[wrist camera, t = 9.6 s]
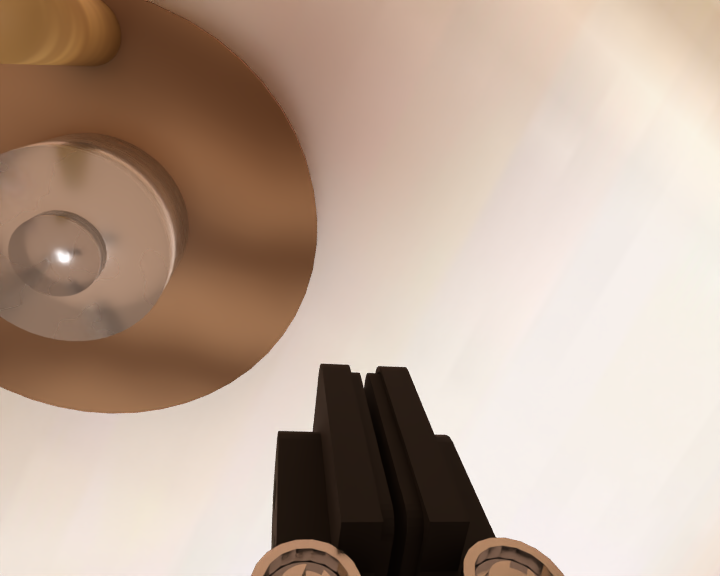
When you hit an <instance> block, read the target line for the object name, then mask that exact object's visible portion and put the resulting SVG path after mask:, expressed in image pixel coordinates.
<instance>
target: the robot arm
mask: <svg viewBox="0 0 720 576" xmlns="http://www.w3.org/2000/svg"><path fill="white" fill-rule="evenodd" d="M251 576H564V575H563V573H562V572H561V571H560V570H559V569H558V567H557V566H556V565H555V564H554V563H553V562H552V561H551V560H550V559H549V558H548V557H546V556H545V555H544V554H542V553H541V552H540V551H538V550H537V549H535V548H533V547H531V546H529V545H527V544H525V543H523V542H521V541H517V540H512V539H508V538H496V537H495V535H494V533H493V530H492V528H491V526H490V524H489V522H488V519H487V517H486V515H485V513H484V510H483V508H482V506H481V504H480V502H479V499H478V497H477V495H476V493H475V491H474V488H473V486H472V484H471V482H470V479H469V477H468V475H467V473H466V471H465V468H464V466H463V464H462V462H461V460H460V457H459V455H458V453H457V451H456V448H455V446H454V444H453V442H452V440H451V439H450V437H449V436H447V435H434V433H433V430H432V428H431V425H430V423H429V420H428V418H427V415H426V413H425V411H424V408H423V406H422V403H421V401H420V398H419V396H418V394H417V391H416V389H415V386H414V384H413V381H412V379H411V376H410V374H409V372H408V369H407V368H406V367H386V366H378V367H377V369H376V373H367V375H366V379H365V385H364V388H363V384H362V379H361V375H360V373H353V372H351V370H350V366H349V365H339V364H321V365H320V369H319V377H318V386H317V396H316V405H315V415H314V424H313V432H294V431H278V436H277V448H276V461H275V474H274V491H273V513H272V546H271V550H270V551H268V552H267V553H266V554H265V555H264V556H263V557H262V558H261V559H260V560H259V562H258V563H257V564H256V566H255V568H254V570H253V573H252V575H251Z"/></svg>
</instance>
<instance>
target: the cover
mask: <svg viewBox="0 0 720 576" xmlns="http://www.w3.org/2000/svg"><path fill="white" fill-rule="evenodd" d="M188 230H189V225H188V215H187V210H186V205H185V203H184V200H183V197H182V194H181V192H180V190H179V188H178V186H177V185H176V183H175V182H174V180H173V179H172V177H171V176H170V174H169V173H168V172H167V171H166V170H165V168H164V167H163V166H162V165H161V164H160V163H159V162H158V161H157V160H155V159H154V158H153V157H152V156H151V155H149V154H148V153H146V152H145V151H144V150H142V149H140V148H139V147H137V146H135V145H133V144H131V143H129V142H127V141H124V140H122V139H119V138H116V137H112V136H109V135H104V134H97V133H75V134H68V135H64V136H60V137H56V138H53V139H49V140H46V141H42V142H38V143H35V144H31V145H28V146H24V147H21V148H17V149H14V150H10V151H8V152H5V153H3V154H0V316H1V317H2V318H3V319H5V320H6V321H8V322H10V323H12V324H14V325H15V326H17V327H19V328H21V329H24V330H26V331H28V332H31V333H33V334H37V335H40V336H43V337H47V338H52V339H57V340H66V341H88V340H96V339H101V338H105V337H109V336H112V335H114V334H117V333H120V332H122V331H124V330H126V329H127V328H129V327H131V326H133V325H134V324H135V323H137V322H138V321H140V320H141V319H142V318H143V317H144V316H145V315H146V314H147V313H148V312H149V311H150V310H151V309H152V308H153V306H154V305H155V304H156V302H157V301H158V299H159V297H160V295H161V294H162V292H163V290H164V288H165V287H166V285H167V283H168V281H169V280H170V278H171V276H172V274H173V273H174V271H175V269H176V267H177V266H178V264H179V262H180V260H181V258H182V256H183V254H184V251H185V248H186V244H187V240H188Z"/></svg>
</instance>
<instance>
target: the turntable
mask: <svg viewBox="0 0 720 576" xmlns="http://www.w3.org/2000/svg"><path fill="white" fill-rule="evenodd" d="M75 133H97V134H104V135H109V136H112V137H116V138H119V139H122V140H124V141H127V142H129V143H131V144H133V145H135V146H137V147H139V148H140V149H142V150H144V151H145V152H146V153H148V154H149V155H151V156H152V157H153V158H154V159H155V160H157V161H158V162H159V163H160V164H161V165H162V166H163V167H164V168H165V170H166V171H167V172H168V173H169V174H170V176H171V177H172V179H173V180H174V182H175V183H176V185H177V186H178V188H179V190H180V192H181V194H182V197H183V200H184V203H185V205H186V210H187V215H188V225H189V230H188V240H187V244H186V248H185V251H184V254H183V256H182V258H181V260H180V262H179V264H178V266H177V267H176V269H175V271H174V273H173V274H172V276H171V278H170V280H169V281H168V283H167V285H166V287H165V288H164V290H163V292H162V294H161V295H160V297H159V299H158V301H157V302H156V304H155V305H154V306H153V308H152V309H151V310H150V311H149V312H148V313H147V314H146V315H145V316H144V317H143V318H142V319H141V320H140V321H138V322H137V323H135V324H134V325H133V326H131V327H129V328H127V329H126V330H124V331H122V332H120V333H117V334H114V335H112V336H109V337H105V338H101V339H96V340H88V341H66V340H57V339H52V338H47V337H43V336H40V335H37V334H33V333H31V332H28V331H26V330H24V329H21V328H19V327H17V326H15V325H14V324H12V323H10V322H8V321H6V320H5V319H3V318H2V317H1V316H0V387H2V388H4V389H7V390H9V391H12V392H14V393H17V394H19V395H22V396H24V397H27V398H29V399H32V400H36V401H39V402H43V403H46V404H50V405H53V406H57V407H62V408H68V409H74V410H79V411H85V412H99V413H137V412H144V411H152V410H159V409H164V408H168V407H172V406H176V405H180V404H184V403H187V402H190V401H192V400H195V399H198V398H200V397H203V396H206V395H208V394H210V393H212V392H214V391H216V390H218V389H220V388H222V387H224V386H226V385H227V384H229V383H231V382H232V381H234V380H235V379H237V378H238V377H240V376H241V375H243V374H244V373H245V372H247V371H248V370H250V369H251V368H252V367H253V366H254V365H255V364H256V363H257V362H259V361H260V360H261V359H262V358H263V357H264V356H265V355H266V354H267V353H268V352H269V351H270V350H271V349H272V348H273V346H274V345H275V344H276V343H277V342H278V340H279V339H280V338H281V337H282V336H283V334H284V333H285V331H286V329H287V328H288V326H289V325H290V323H291V322H292V320H293V318H294V317H295V315H296V313H297V311H298V309H299V307H300V304H301V302H302V300H303V298H304V296H305V294H306V290H307V287H308V284H309V280H310V277H311V274H312V270H313V264H314V258H315V251H316V245H317V215H316V206H315V198H314V190H313V186H312V182H311V178H310V174H309V170H308V166H307V162H306V158H305V156H304V153H303V151H302V148H301V146H300V143H299V141H298V138H297V136H296V133H295V131H294V129H293V128H292V126H291V124H290V122H289V120H288V119H287V117H286V115H285V113H284V111H283V109H282V108H281V106H280V105H279V103H278V102H277V101H276V99H275V98H274V97H273V95H272V94H271V92H270V91H269V90H268V88H267V87H266V86H265V84H264V83H263V82H262V81H261V80H260V79H259V77H258V76H257V75H256V74H255V73H254V72H253V71H252V70H251V69H250V68H249V67H248V66H247V65H246V63H245V62H244V61H243V60H242V59H240V58H239V57H238V56H237V55H236V54H234V53H233V52H232V51H231V50H230V49H229V48H227V47H226V46H225V45H224V44H223V43H221V42H220V41H219V40H218V39H216V38H215V37H213V36H212V35H210V34H209V33H207V32H205V31H204V30H202V29H201V28H199V27H198V26H196V25H195V24H193V23H192V22H190V21H188V20H186V19H184V18H182V17H180V16H178V15H176V14H174V13H172V12H170V11H168V10H166V9H164V8H162V7H160V6H158V5H155V4H153V3H151V2H148V1H145V0H0V154H3V153H5V152H8V151H10V150H14V149H17V148H21V147H24V146H28V145H31V144H35V143H38V142H42V141H46V140H49V139H53V138H56V137H60V136H64V135H68V134H75Z"/></svg>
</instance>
